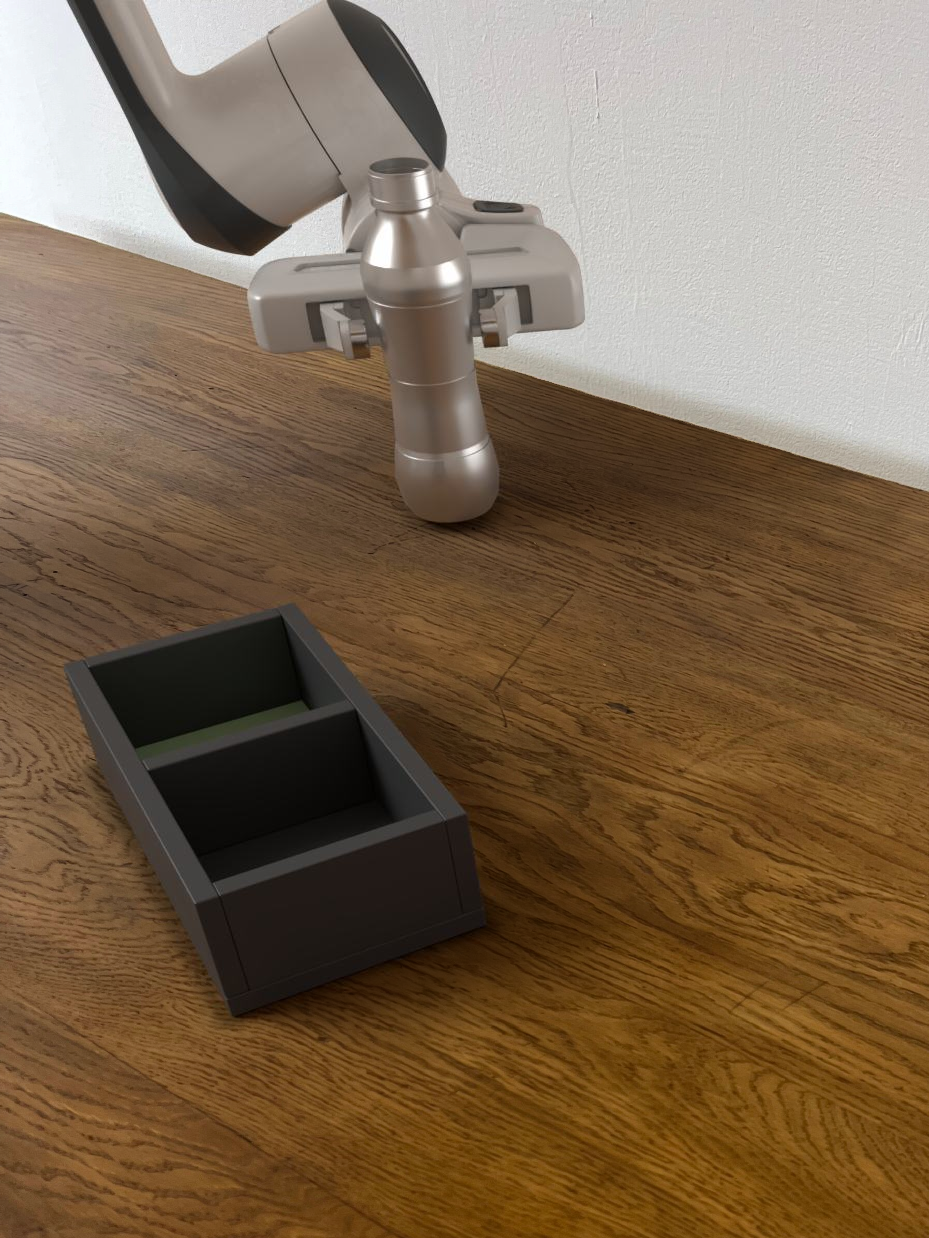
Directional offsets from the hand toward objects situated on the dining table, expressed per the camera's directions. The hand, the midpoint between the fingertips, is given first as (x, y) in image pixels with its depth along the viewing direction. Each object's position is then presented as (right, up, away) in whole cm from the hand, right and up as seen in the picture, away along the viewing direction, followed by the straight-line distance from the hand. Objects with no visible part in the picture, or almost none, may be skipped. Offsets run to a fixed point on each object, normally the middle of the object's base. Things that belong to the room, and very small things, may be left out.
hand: (425, 340), depth 93 cm
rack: (-3, -32, -18) cm, 37 cm away
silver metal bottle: (0, -8, +8) cm, 11 cm away
